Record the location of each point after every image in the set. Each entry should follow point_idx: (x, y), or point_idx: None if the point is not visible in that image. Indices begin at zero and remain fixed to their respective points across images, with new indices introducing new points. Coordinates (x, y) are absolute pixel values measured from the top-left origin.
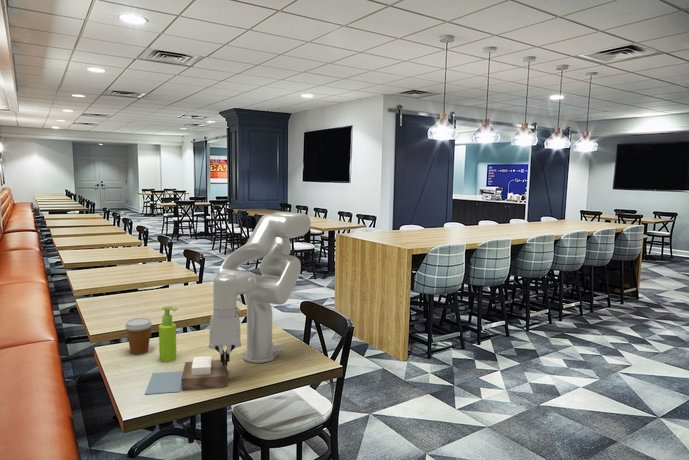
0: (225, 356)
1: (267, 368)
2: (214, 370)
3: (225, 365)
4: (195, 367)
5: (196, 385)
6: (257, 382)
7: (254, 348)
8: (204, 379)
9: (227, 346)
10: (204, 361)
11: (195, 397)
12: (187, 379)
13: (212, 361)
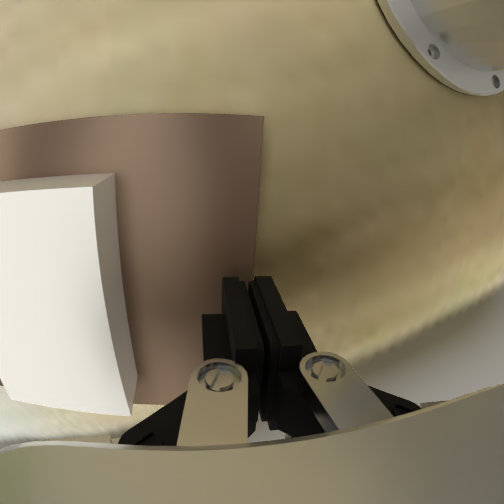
0: (261, 408)
1: (471, 168)
2: (155, 330)
3: (244, 252)
4: (27, 397)
5: None
6: (392, 318)
7: (494, 40)
8: None
9: (322, 424)
10: (48, 317)
11: None
12: None
13: (118, 142)
